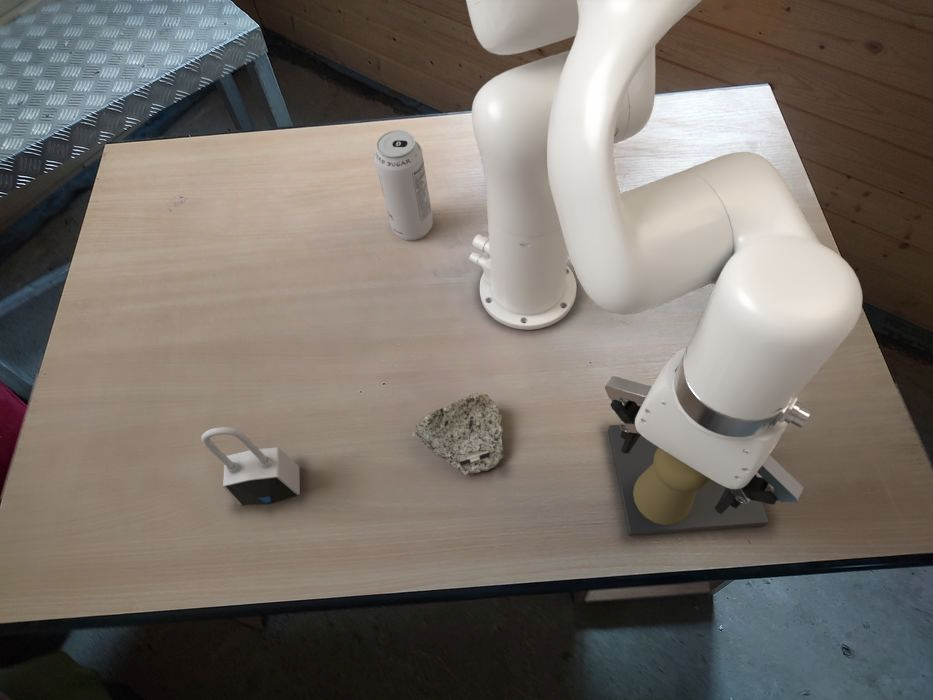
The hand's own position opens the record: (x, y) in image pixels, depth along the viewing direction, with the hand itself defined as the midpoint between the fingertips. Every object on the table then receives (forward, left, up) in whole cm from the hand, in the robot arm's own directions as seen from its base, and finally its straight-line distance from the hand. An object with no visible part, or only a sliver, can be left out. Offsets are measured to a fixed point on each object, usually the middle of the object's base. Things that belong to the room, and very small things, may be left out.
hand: (676, 469), depth 59 cm
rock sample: (-20, -6, -9) cm, 23 cm away
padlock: (-35, -24, -9) cm, 44 cm away
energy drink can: (-47, +15, -9) cm, 50 cm away
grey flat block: (+1, +4, -9) cm, 10 cm away
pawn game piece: (0, 0, -7) cm, 8 cm away
